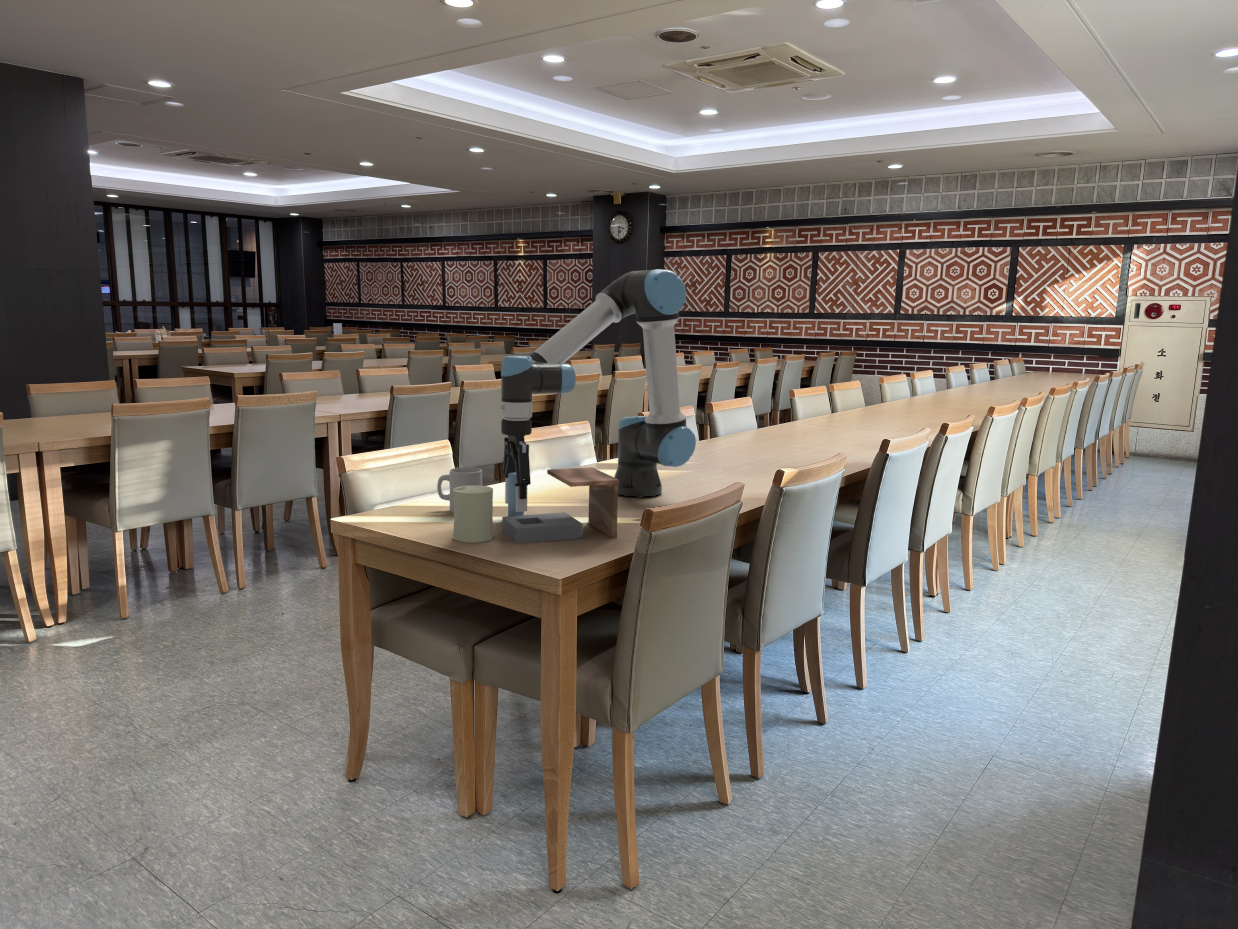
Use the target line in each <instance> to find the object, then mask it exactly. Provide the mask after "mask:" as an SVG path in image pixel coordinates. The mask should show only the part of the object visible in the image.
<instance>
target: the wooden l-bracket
mask: <svg viewBox="0 0 1238 929" xmlns="http://www.w3.org/2000/svg"><path fill="white" fill-rule="evenodd" d="M546 471H547V472H546V474H548V476H551V477H552V478H554V479H556V480H558V481H560V482H562V483H564V484H565V485H566V486H569V487H570V488H572V487H573V488H574V487H575V488H576V487H588V523H590V524H591V525H592V526H594V527H595V528H597V529H598V530H600V532H603V533H604V534H606V535H608V536H609V537H611V538H612V539H614V538H617V536H618V535H617V534H618V507H619V506H618V504H619V502H618V501H619V500H618V499H619V495H618V484H619V480H618V479H616V478H614V476H612V475H609V474H608V473H606V472H603V471H602V470H598V469H597V468H595V467H573V468H553V469H552V468H551V469H547V470H546Z"/></svg>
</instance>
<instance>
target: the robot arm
mask: <svg viewBox="0 0 1238 929" xmlns="http://www.w3.org/2000/svg"><path fill="white" fill-rule="evenodd" d="M686 300H687V291H686V286H685V283H684V281H683V279H682V278H681V277H680V276H679V275H678V274H677V273H675V272H674V271H672V270H668V269H661V268H659V269H657V268H656V269H648V270H632V271H629V272H626V273H625V274H623V275H620V277H618V278H617V279H615V280H614V281H612V282H611V283H610V284H609V285H607V286H606V287H605V288H604V289H602V290H601V291H600V292H599V293H597V294H596V295H595V300H594V302H592V303H591V304H590V305H589V306H587V307H586V308H585V309H584V310H583V311H581V312H580V313H578V314H577V315H576V316H575V317H574V318H573V319H572V320H570V322H568V323H566V325H564V326H563V327H561V329H559V331H557V332H556V333H555V334H553V335H552V336H551V337H550V338H549V339H547V340H546V341H545V342H544V343H542V344H541V345H540V346H539V347H537V348H536V349H535V350H534V351H533V352H531V353H530V354H529V355H505V356H503V357H502V360H501V372H500V376H501V378H500V379H501V384H500V385H501V386H500V387H501V405H499V406H498V407H499V408H498V409H499V410H501V417H502V419H501V422H500V424H501V426H500V431H501V432H500V433H501V434H502V435H505V437H504V438H503V442H504V444H503V445H504V448H503V449H504V451H503V462H502V474H503V475H504V478H505V479H504V485H505V486H504V489H505V490H504V494H505V495H504V502H505V504H507V505H508V474H509V473H516V477H517V483H516V484H515V486H516V512H524V513H525V512H528V486H529V485H530V486H531V484H532V482H531V470H530V466H531V465H530V444H529V443H527V442H526V440H525V436H529V435H531V434H532V433H533V432H532V430H533V429H532V427H533V426H532V420H531V418H532V417H533V395H537V394H538V395H540V394H541V395H542V394H545V395H546V394H549V395H550V394H551V395H552V394H560V395H562V394H567V393H570V392H572V391H573V390H574V389H575V387H576V383H577V376H576V375H577V374H576V371H575V369H574V367H573V366H572V365H571V364H570V363H565V362H567V361H568V360H569V359H571V358H572V357H573V356H574V355H576V353H578V352H579V351H580V350H582V348H584V347H585V346H586V345H587V344H589V343H590V342H591V341H592V340H593V339H594V338H596V337H597V336H598V335H599V334H600V333H602V332H603V331H604V330H605V329H606V328H608V327H609V326H610V325H611V324H613V323H619V322H620V321H622V320H623V319H624V318H626V317H628V316H630V315H633V314H634V315H635V316H636V324H638V325H639V327H641V328H642V334H643V335H642V336H643V348H644V358H645V375H646V384H647V387H646V388H647V395H648V396H647V399H648V410H649V413H648V415H644V416H643V415H640V416H624V417H622V418H620V420H619V424H618V429H617V432H618V445H617V446H618V448H617V450H618V451H617V468H616V471H615V474H614V476H613V477H614V478H616V479H618V480H619V484H618V494H619V495H618V496H620V495H624V496H623V497H626V496H653V497H656V496H655V495H658V496H660V495H661V493H662V492H663V486H662V482H661V479H660V475H659V470H658V465H661V466H664V467H672V468H678V467H682V466H683V465H686V463H687V462H689V460H690V459H691V457H692V456H694V452H695V450H696V444H697V438H696V435H695V433H694V432H693V431H692V429H690V427H688V426H687V417H686V415H685V414H684V413H683V412H681V406H680V392H679V391H680V390H679V379H678V377H679V376H678V363H677V353H676V352H677V351H676V350H677V349H676V348H677V347H676V336H675V325H676V324H677V322H679V320H680V313H679V312H681V310H682V309H683V308H684V304H686ZM523 479H524V480H523ZM659 494H660V495H659ZM662 494H663V493H662Z"/></svg>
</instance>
